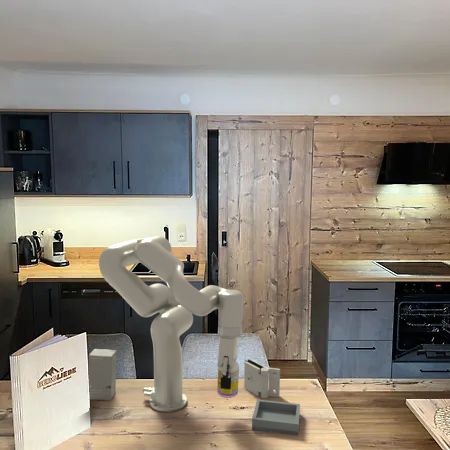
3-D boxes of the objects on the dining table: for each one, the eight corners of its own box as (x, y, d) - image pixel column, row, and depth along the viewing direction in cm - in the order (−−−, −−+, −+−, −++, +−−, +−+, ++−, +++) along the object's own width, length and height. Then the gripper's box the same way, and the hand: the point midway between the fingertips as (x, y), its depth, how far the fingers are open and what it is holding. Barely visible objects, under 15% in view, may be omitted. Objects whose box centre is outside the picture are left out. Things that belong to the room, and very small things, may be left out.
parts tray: (251, 429, 139) (252, 418, 139) (256, 409, 151) (257, 399, 150) (298, 435, 136) (298, 424, 136) (299, 414, 148) (300, 404, 148)
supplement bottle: (217, 388, 149) (219, 350, 148) (237, 389, 149) (239, 351, 147) (216, 398, 143) (218, 359, 141) (237, 399, 142) (239, 360, 141)
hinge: (280, 396, 160) (280, 369, 158) (271, 402, 156) (272, 374, 154) (248, 384, 168) (248, 358, 167) (239, 389, 164) (239, 363, 163)
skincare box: (87, 400, 156) (86, 356, 154) (94, 390, 163) (92, 347, 161) (112, 400, 156) (111, 356, 154) (117, 390, 163) (116, 348, 161)
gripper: (223, 319, 152) (221, 369, 155) (212, 338, 135) (210, 394, 138) (246, 321, 151) (243, 372, 153) (237, 341, 134) (234, 398, 136)
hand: (227, 382), depth 145 cm, fingers closed on supplement bottle, 6 cm apart
